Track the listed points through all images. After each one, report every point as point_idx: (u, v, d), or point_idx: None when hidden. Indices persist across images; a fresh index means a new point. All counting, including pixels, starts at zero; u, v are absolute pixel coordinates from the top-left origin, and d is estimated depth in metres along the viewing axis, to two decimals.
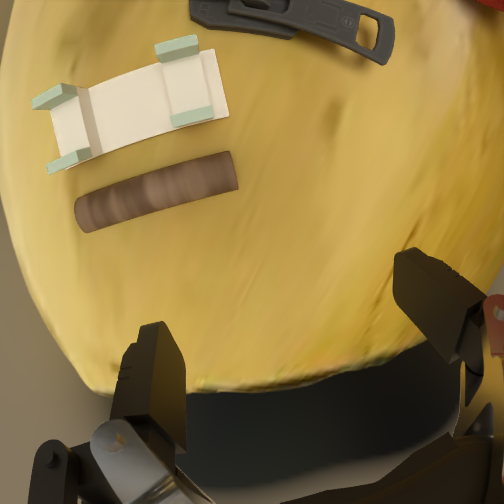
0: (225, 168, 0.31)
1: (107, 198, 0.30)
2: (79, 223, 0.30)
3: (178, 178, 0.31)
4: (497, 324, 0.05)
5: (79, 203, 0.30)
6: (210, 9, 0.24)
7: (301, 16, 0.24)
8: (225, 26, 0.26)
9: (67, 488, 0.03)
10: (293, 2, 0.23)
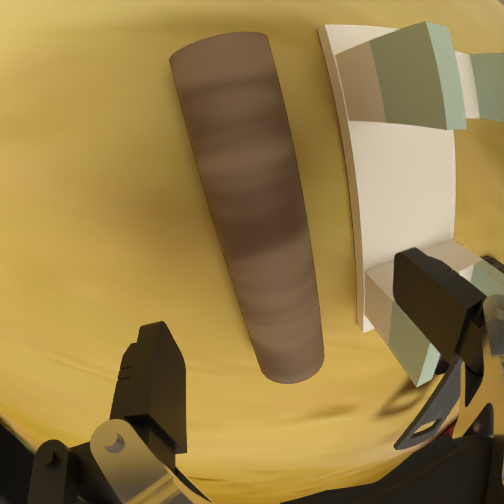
0: (312, 366, 0.18)
1: (280, 134, 0.12)
2: (219, 39, 0.09)
3: (307, 303, 0.15)
4: (497, 324, 0.05)
5: (268, 48, 0.10)
6: None
7: (453, 381, 0.23)
8: None
9: (67, 488, 0.03)
10: None
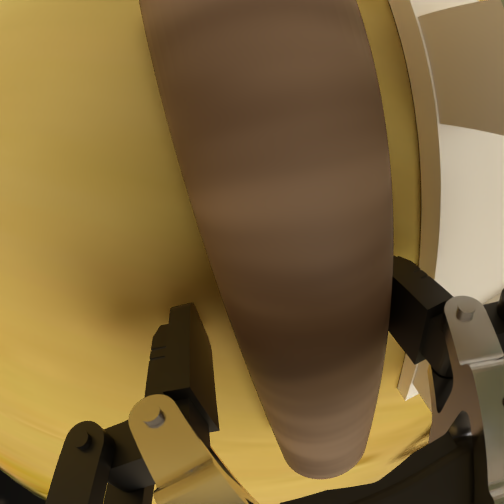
0: (359, 456, 0.11)
1: (385, 137, 0.05)
2: None
3: (373, 404, 0.09)
4: (457, 326, 0.05)
5: None
6: None
7: None
8: None
9: (98, 473, 0.04)
10: None
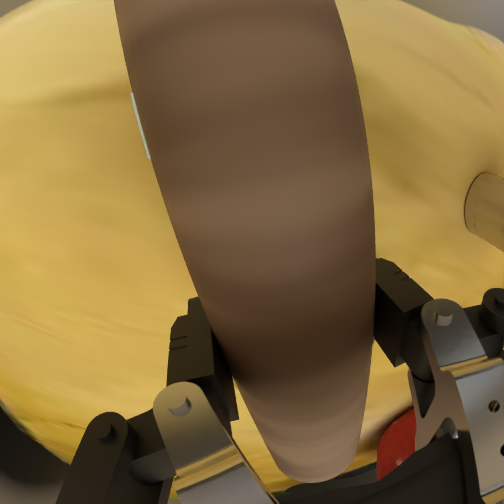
0: (342, 467, 0.11)
1: (353, 146, 0.05)
2: None
3: (351, 422, 0.08)
4: (433, 330, 0.05)
5: None
6: None
7: None
8: None
9: (118, 466, 0.04)
10: None
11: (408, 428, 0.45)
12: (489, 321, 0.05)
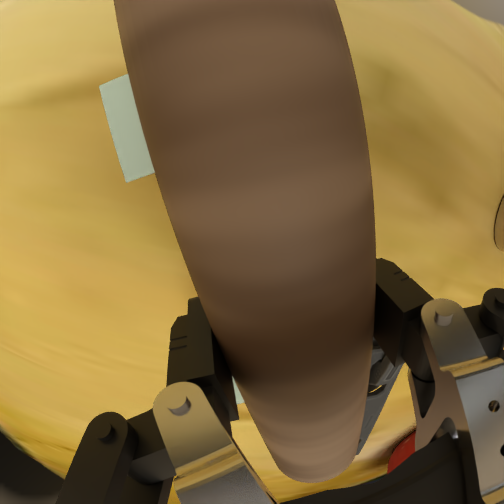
0: (342, 467, 0.11)
1: (353, 145, 0.05)
2: None
3: (351, 422, 0.08)
4: (433, 330, 0.05)
5: None
6: None
7: None
8: None
9: (118, 466, 0.04)
10: (371, 399, 0.27)
11: None
12: (489, 321, 0.05)
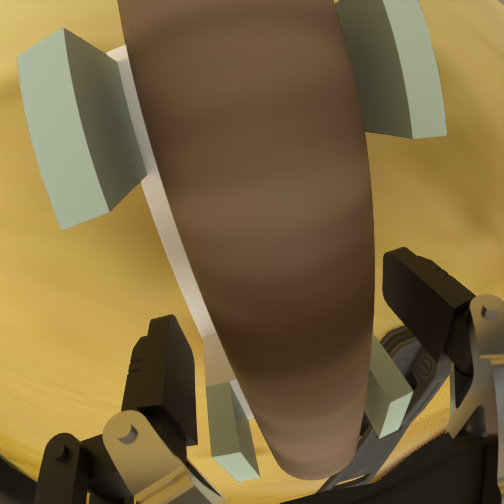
0: (341, 465, 0.11)
1: (351, 145, 0.05)
2: None
3: (350, 419, 0.08)
4: (484, 324, 0.05)
5: None
6: (399, 366, 0.20)
7: (369, 450, 0.22)
8: None
9: (77, 482, 0.03)
10: (387, 438, 0.22)
11: None
12: None
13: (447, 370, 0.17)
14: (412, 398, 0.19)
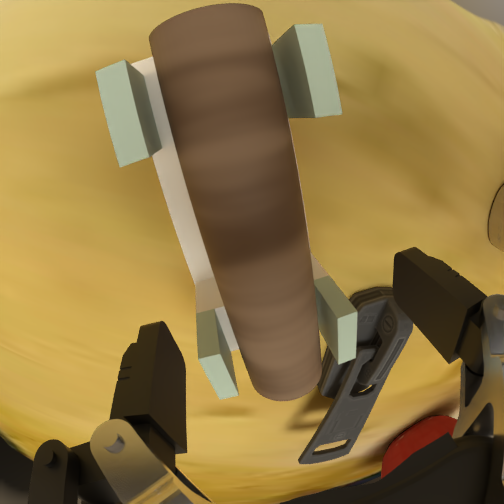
0: (306, 385, 0.16)
1: (272, 122, 0.10)
2: (198, 12, 0.07)
3: (301, 319, 0.13)
4: (497, 324, 0.05)
5: (260, 23, 0.08)
6: (365, 325, 0.25)
7: (344, 409, 0.27)
8: None
9: (67, 488, 0.03)
10: (361, 399, 0.27)
11: (415, 443, 0.41)
12: None
13: (408, 327, 0.23)
14: (378, 355, 0.24)
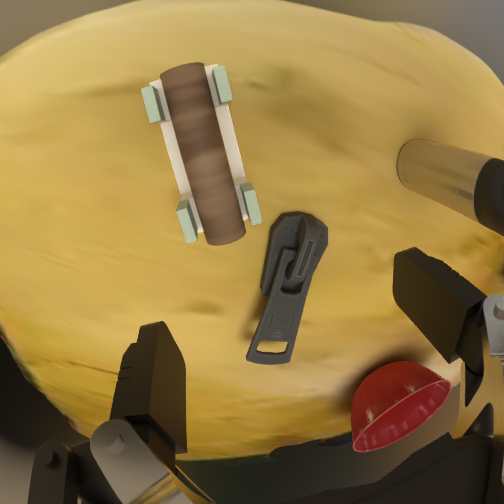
0: (232, 233, 0.32)
1: (203, 105, 0.26)
2: (177, 68, 0.23)
3: (222, 187, 0.30)
4: (497, 324, 0.05)
5: (200, 69, 0.24)
6: (288, 233, 0.41)
7: (278, 303, 0.43)
8: (270, 244, 0.42)
9: (67, 488, 0.03)
10: (291, 297, 0.43)
11: (377, 380, 0.57)
12: None
13: (315, 233, 0.39)
14: (297, 254, 0.40)
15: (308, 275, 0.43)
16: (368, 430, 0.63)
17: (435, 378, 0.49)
